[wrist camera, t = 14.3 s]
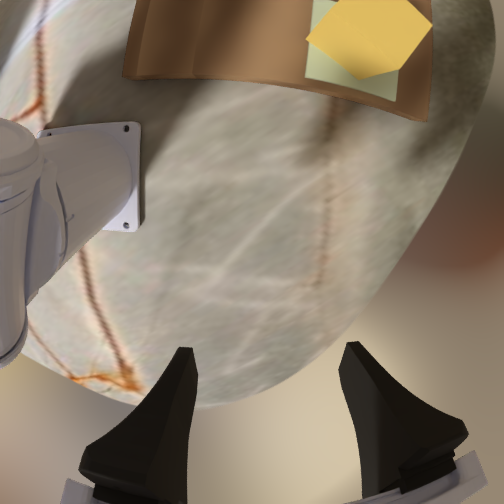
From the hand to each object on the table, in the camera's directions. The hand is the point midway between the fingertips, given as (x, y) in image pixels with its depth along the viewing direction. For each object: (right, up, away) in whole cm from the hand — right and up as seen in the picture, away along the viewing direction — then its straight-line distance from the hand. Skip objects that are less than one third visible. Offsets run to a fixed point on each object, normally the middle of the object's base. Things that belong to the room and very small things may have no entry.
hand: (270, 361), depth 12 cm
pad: (+6, +18, 0) cm, 18 cm away
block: (+5, +18, 0) cm, 19 cm away
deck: (+2, +23, 0) cm, 23 cm away
